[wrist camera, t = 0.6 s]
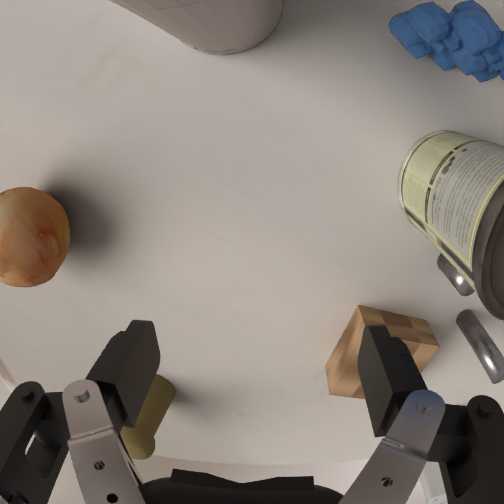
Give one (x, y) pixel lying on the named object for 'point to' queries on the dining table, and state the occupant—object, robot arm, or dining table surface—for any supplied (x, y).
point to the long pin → (482, 345)
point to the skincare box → (433, 484)
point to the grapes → (453, 38)
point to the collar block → (346, 352)
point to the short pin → (454, 276)
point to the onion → (31, 237)
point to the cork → (148, 419)
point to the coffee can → (460, 207)
